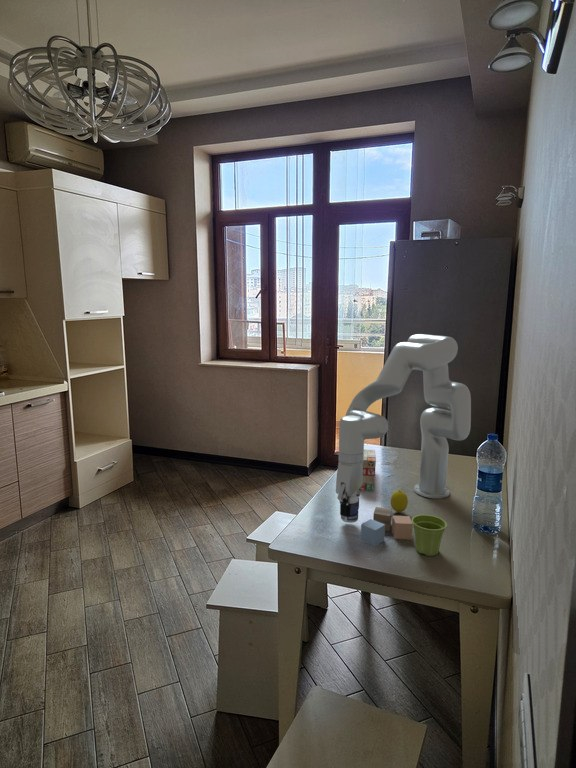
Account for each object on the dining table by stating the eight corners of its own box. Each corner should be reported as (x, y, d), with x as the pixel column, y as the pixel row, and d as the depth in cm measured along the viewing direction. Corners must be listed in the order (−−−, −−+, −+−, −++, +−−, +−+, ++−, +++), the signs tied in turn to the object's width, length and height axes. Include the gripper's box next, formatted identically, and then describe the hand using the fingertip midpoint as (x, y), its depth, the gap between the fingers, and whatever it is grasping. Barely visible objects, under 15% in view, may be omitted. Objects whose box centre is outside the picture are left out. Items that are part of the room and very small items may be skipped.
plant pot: (403, 543, 136) (405, 515, 135) (433, 540, 138) (435, 513, 137) (419, 561, 127) (422, 531, 126) (451, 557, 130) (453, 528, 128)
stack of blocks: (358, 470, 195) (359, 442, 193) (373, 471, 194) (374, 443, 192) (357, 490, 175) (358, 458, 172) (374, 492, 174) (376, 460, 171)
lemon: (394, 517, 153) (396, 494, 152) (387, 510, 158) (388, 487, 157) (410, 515, 155) (411, 492, 153) (401, 508, 160) (403, 486, 158)
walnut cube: (374, 521, 150) (375, 506, 149) (390, 524, 149) (391, 509, 148) (372, 528, 145) (373, 513, 145) (389, 531, 144) (390, 515, 143)
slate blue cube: (369, 534, 142) (370, 518, 141) (384, 540, 138) (385, 524, 137) (360, 540, 138) (361, 524, 137) (375, 546, 135) (375, 530, 134)
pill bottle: (360, 517, 148) (361, 488, 146) (354, 524, 143) (354, 494, 141) (344, 513, 151) (345, 484, 149) (337, 520, 146) (338, 490, 144)
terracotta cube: (391, 530, 144) (392, 515, 143) (408, 531, 144) (409, 516, 143) (394, 538, 139) (395, 523, 138) (411, 539, 139) (412, 523, 138)
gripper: (351, 446, 152) (350, 499, 156) (326, 462, 138) (325, 519, 141) (373, 451, 148) (371, 504, 152) (350, 467, 134) (348, 526, 137)
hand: (349, 511), depth 146 cm, fingers closed on pill bottle, 5 cm apart
